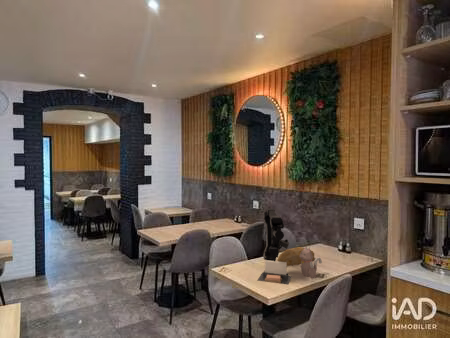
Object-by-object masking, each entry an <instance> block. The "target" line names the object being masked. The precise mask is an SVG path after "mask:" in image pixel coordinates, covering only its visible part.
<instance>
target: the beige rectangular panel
mask: <svg viewBox="0 0 450 338" xmlns="http://www.w3.org/2000/svg"><path fill="white" fill-rule="evenodd" d="M287 267H288V266H287V262H278V261H275V262H274V261H269V260H264V270H265V272H266V273H274V274H282V275H286V273H288V272H287V270H288V269H287Z"/></svg>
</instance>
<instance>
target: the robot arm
mask: <svg viewBox="0 0 450 338" xmlns="http://www.w3.org/2000/svg"><path fill="white" fill-rule="evenodd" d="M262 218H263V223H264V224H265V227H266V229H265V230H266V246H265V248H264V251H263V255H262V257H263V260H264V261H265V260H269V261H274V262H275V261H276V260H277V259H278V257H279V255H280V250H281V249H282V248H284V249H285V250H287V249H289V248H288V247H289V245H290V242H289V240H288V239H287V238H286V239H284V237H285V234H284V232H283V231H282V230H283V229H284V227H285V224H284V220H283V219H282V217H281V216H279V215H277V213H276V211H275V209H267V210H266V211H265V212H264V213H263V215H262Z"/></svg>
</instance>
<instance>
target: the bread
mask: <svg viewBox="0 0 450 338" xmlns="http://www.w3.org/2000/svg"><path fill="white" fill-rule="evenodd" d="M304 248H305V247H304V246H303V247H302V246H299V247H293V248H287V249H285V250H284V251H283V252H281V253H279V255H278V258H277V259H276V260H277V261H278V262H287V267H289V266H290V267H291V266H296V265H301V258H300V257H299V255H300V253H301V251H303V250H304ZM311 253H312V256H313V259H312V260H313V261H314V260H315V252H314V251H313V250H311Z"/></svg>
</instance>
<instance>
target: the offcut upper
mask: <svg viewBox="0 0 450 338" xmlns="http://www.w3.org/2000/svg"><path fill="white" fill-rule="evenodd" d="M266 280H277V281H280V276H278V275H267V277H266Z"/></svg>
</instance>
